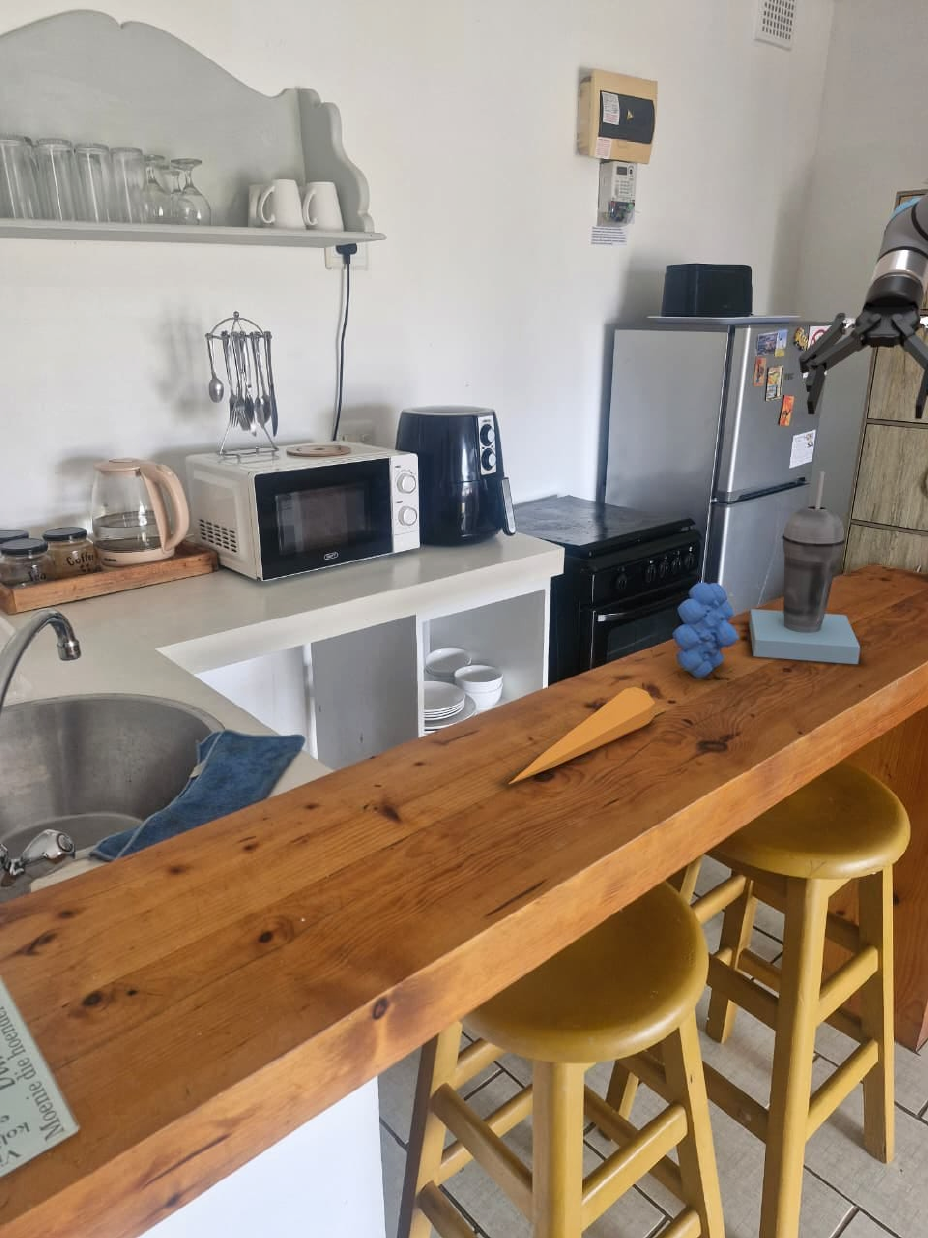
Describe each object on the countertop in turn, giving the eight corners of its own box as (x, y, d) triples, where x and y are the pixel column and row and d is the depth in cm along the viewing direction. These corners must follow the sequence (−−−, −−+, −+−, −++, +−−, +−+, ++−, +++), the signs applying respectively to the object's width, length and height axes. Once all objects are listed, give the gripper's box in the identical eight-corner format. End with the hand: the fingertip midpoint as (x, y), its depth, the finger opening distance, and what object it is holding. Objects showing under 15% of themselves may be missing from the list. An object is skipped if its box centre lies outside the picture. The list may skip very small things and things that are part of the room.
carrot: (635, 722, 93) (622, 683, 92) (668, 721, 89) (654, 680, 89) (501, 806, 81) (484, 761, 81) (531, 808, 77) (515, 762, 77)
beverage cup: (829, 619, 113) (850, 465, 106) (836, 638, 106) (858, 476, 100) (770, 615, 115) (787, 464, 108) (773, 634, 108) (791, 474, 102)
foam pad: (843, 632, 115) (845, 615, 115) (857, 666, 104) (860, 647, 104) (749, 626, 118) (750, 608, 118) (753, 658, 107) (755, 639, 107)
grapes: (710, 703, 95) (719, 599, 91) (656, 687, 100) (662, 587, 96) (756, 671, 103) (766, 575, 99) (703, 658, 108) (711, 565, 104)
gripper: (993, 311, 121) (965, 432, 114) (807, 313, 134) (772, 423, 127) (998, 268, 115) (969, 394, 108) (803, 275, 128) (765, 388, 121)
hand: (862, 410), depth 118 cm, fingers open, 13 cm apart
